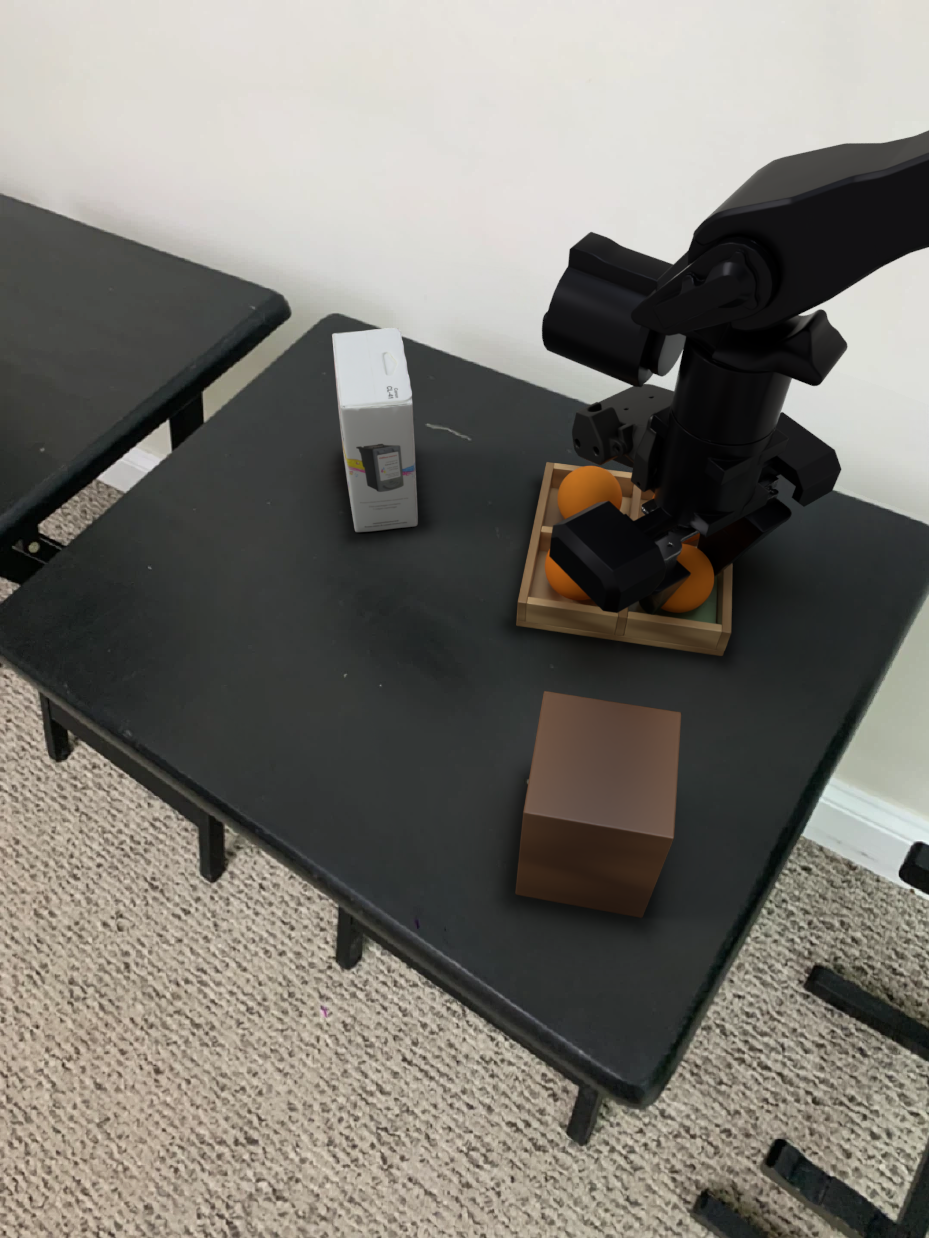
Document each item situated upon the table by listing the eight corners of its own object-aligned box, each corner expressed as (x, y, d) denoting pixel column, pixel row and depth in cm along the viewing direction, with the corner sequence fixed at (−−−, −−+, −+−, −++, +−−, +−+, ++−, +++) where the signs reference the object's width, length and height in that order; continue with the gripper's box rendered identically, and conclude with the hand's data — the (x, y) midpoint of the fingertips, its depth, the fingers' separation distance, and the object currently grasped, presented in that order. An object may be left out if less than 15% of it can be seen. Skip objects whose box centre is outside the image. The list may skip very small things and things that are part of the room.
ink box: (344, 458, 73) (326, 329, 64) (407, 451, 74) (399, 322, 64) (354, 537, 68) (335, 409, 59) (422, 529, 68) (414, 400, 59)
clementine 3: (707, 580, 64) (721, 534, 61) (705, 631, 61) (719, 586, 58) (641, 570, 65) (650, 524, 61) (635, 621, 62) (645, 576, 58)
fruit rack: (726, 510, 69) (734, 485, 67) (722, 656, 61) (731, 633, 59) (544, 487, 71) (546, 461, 69) (516, 626, 63) (517, 601, 61)
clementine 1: (620, 503, 69) (628, 456, 65) (614, 547, 66) (623, 501, 63) (559, 495, 70) (564, 448, 66) (551, 539, 67) (555, 493, 63)
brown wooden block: (651, 803, 54) (681, 711, 47) (642, 918, 50) (674, 838, 42) (533, 783, 55) (543, 690, 47) (515, 894, 51) (523, 812, 43)
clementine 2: (612, 568, 65) (620, 522, 61) (605, 618, 62) (614, 573, 59) (547, 559, 66) (552, 513, 62) (538, 608, 63) (542, 563, 59)
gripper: (742, 287, 58) (695, 473, 70) (498, 394, 51) (493, 578, 63) (884, 380, 52) (805, 565, 64) (629, 513, 45) (595, 690, 58)
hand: (674, 594), depth 63 cm, fingers closed on clementine 3, 4 cm apart
